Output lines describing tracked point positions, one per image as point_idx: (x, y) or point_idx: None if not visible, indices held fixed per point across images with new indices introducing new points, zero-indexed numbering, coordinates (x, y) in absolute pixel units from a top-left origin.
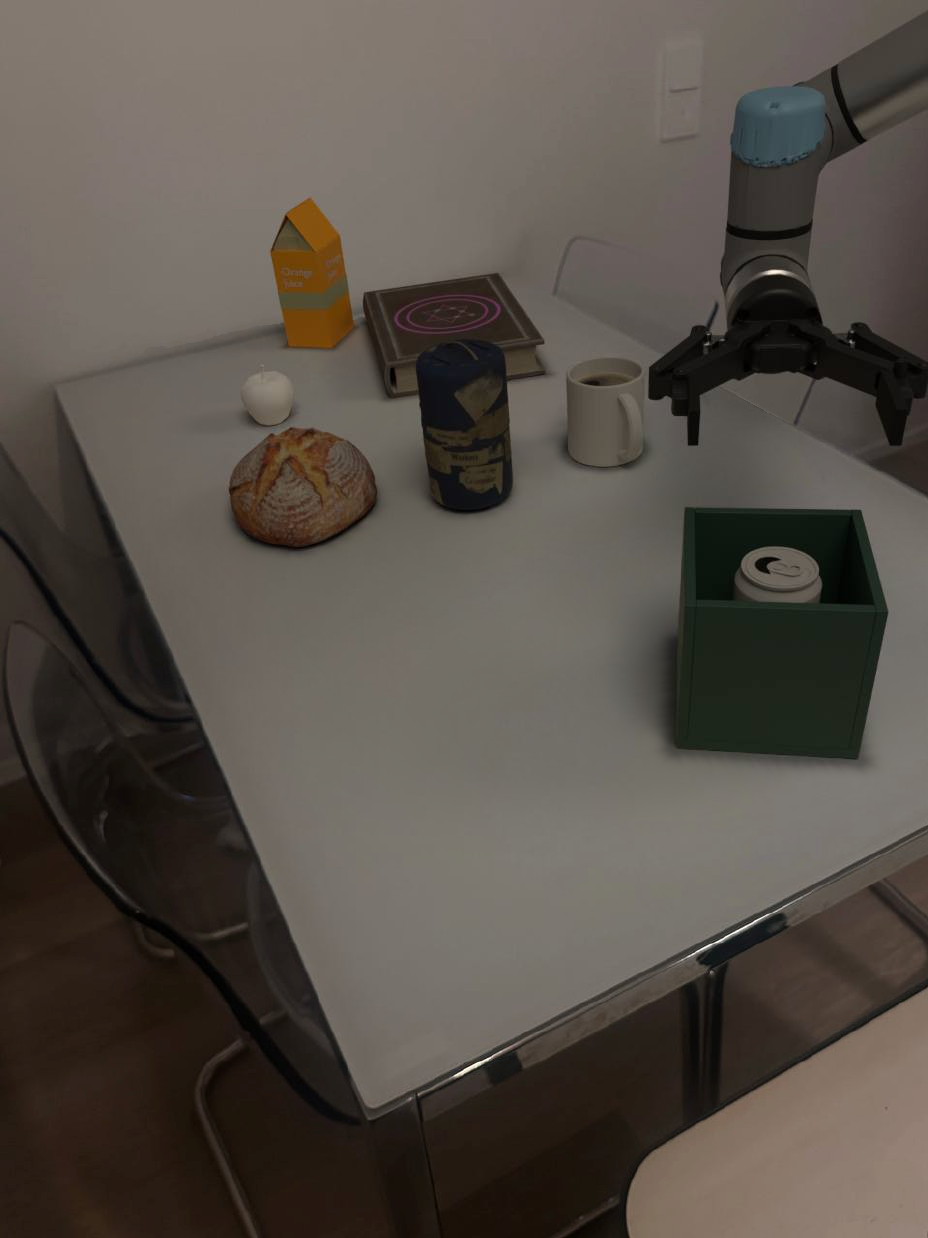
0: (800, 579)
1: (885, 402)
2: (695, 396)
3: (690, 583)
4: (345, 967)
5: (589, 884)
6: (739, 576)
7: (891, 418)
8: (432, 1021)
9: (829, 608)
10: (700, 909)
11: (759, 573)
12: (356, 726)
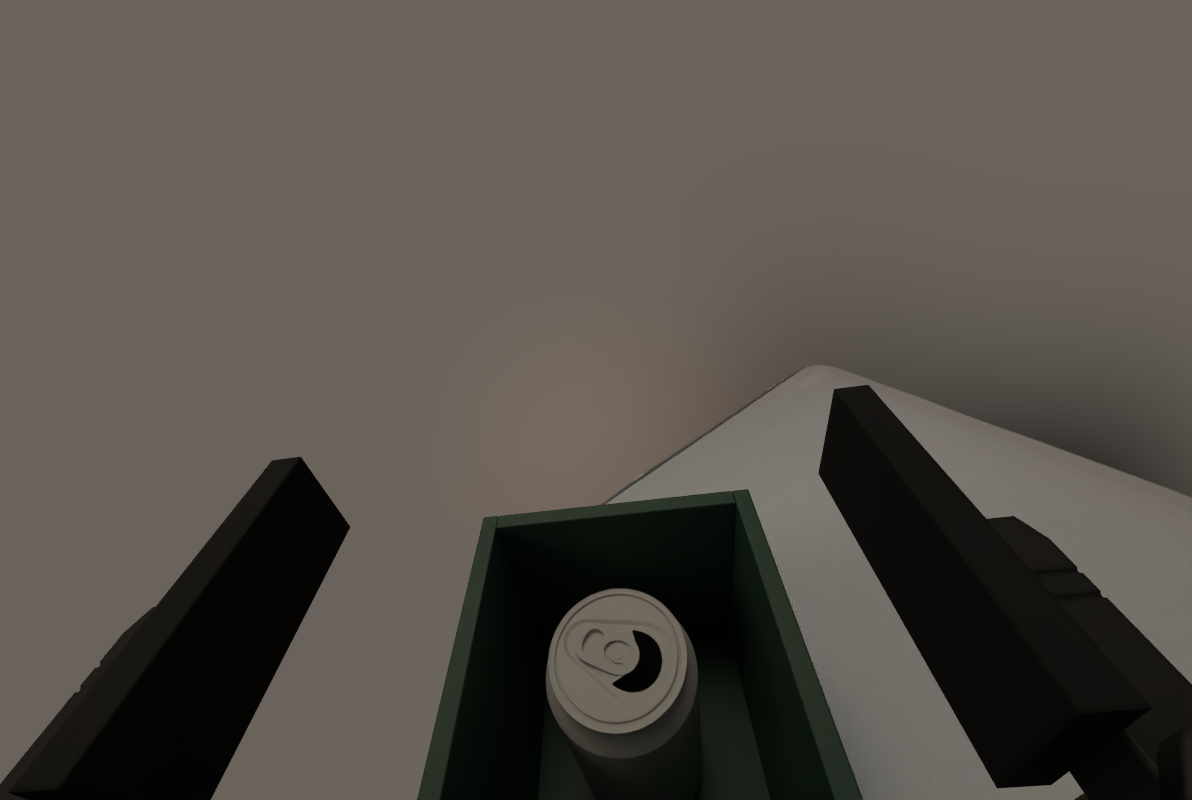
0: (583, 618)
1: (243, 613)
2: (905, 458)
3: (755, 534)
4: (891, 400)
5: (764, 475)
6: (687, 647)
7: (305, 513)
8: (815, 390)
9: (555, 513)
10: (679, 474)
11: (651, 631)
12: (1171, 603)
